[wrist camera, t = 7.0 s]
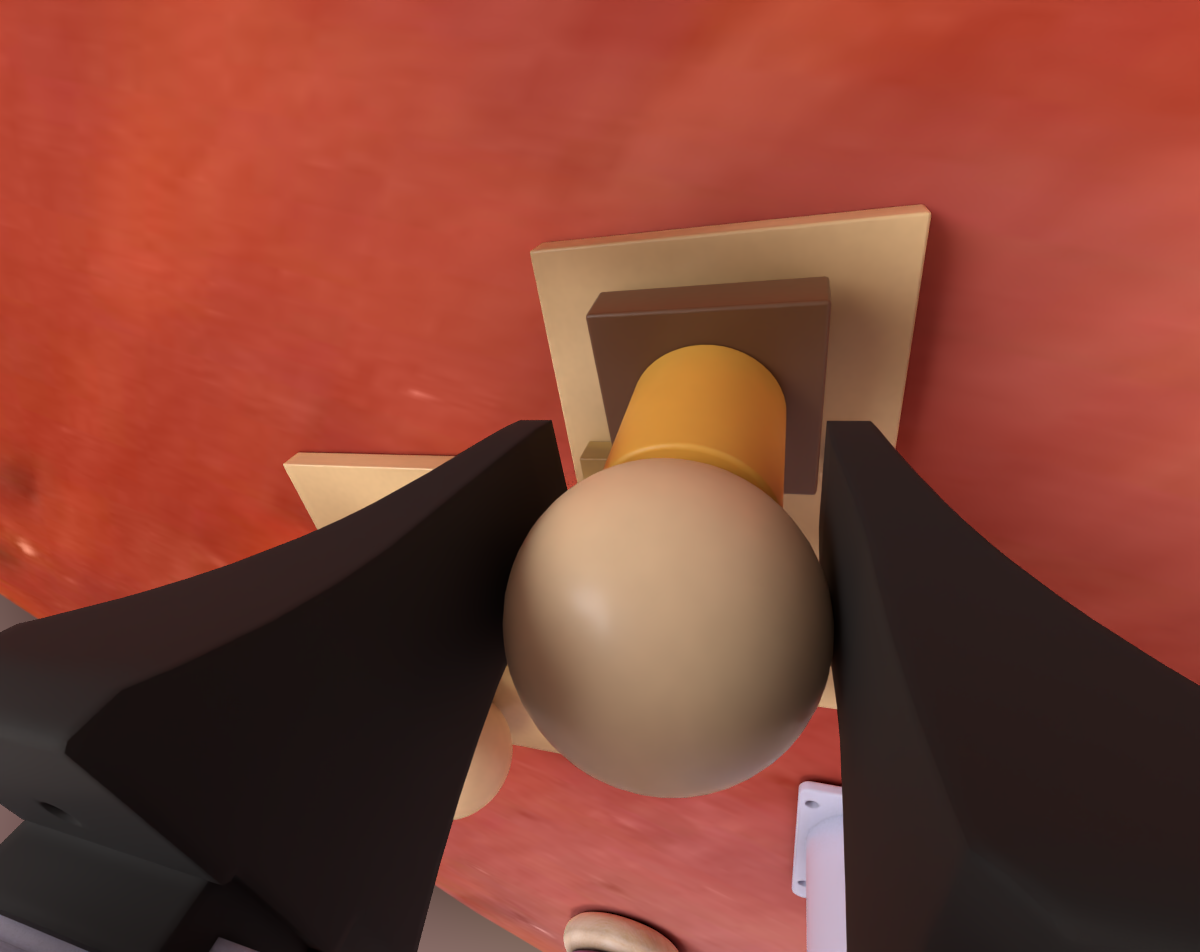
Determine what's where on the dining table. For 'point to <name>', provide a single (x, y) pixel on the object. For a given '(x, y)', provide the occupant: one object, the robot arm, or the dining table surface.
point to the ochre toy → (684, 545)
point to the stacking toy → (612, 935)
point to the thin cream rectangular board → (362, 480)
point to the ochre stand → (744, 254)
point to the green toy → (487, 765)
